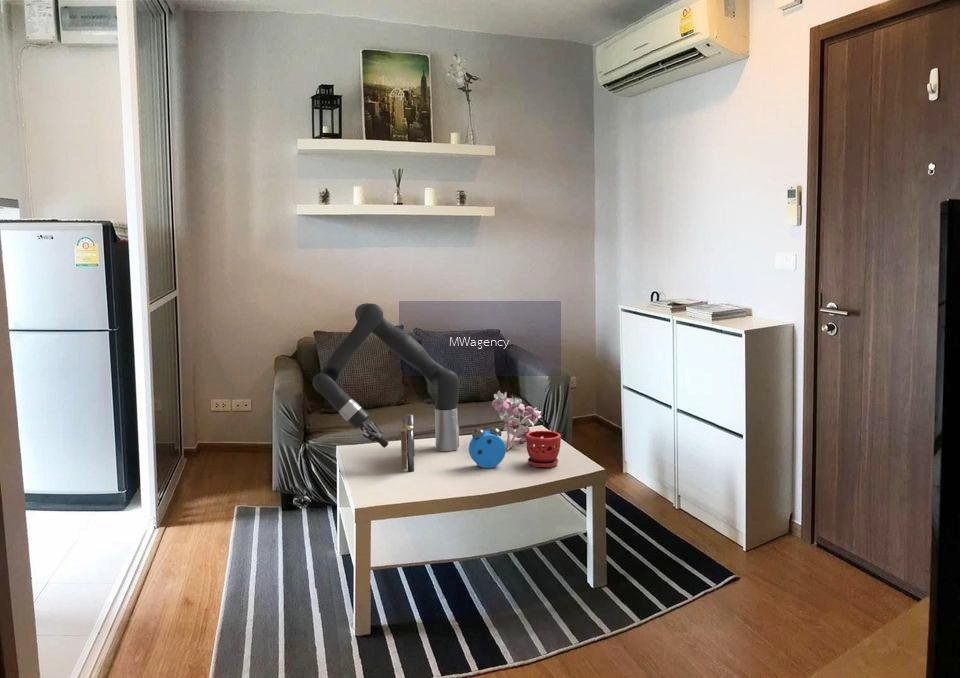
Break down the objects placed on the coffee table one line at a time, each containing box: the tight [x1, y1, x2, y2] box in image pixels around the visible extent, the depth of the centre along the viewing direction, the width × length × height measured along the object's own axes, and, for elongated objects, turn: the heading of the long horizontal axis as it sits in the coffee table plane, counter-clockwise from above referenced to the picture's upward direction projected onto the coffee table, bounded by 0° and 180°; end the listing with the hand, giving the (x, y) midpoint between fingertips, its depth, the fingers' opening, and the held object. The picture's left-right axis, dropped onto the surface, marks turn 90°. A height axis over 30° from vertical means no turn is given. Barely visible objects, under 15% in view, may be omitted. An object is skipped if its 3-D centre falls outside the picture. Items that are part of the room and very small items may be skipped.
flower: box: [491, 390, 542, 451], centre depth 297 cm, size 20×22×25 cm
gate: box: [400, 418, 408, 471], centre depth 274 cm, size 19×2×15 cm, turn 4°
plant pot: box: [525, 430, 562, 468], centre depth 271 cm, size 13×13×12 cm
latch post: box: [406, 425, 415, 473], centre depth 266 cm, size 3×3×17 cm
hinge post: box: [406, 413, 416, 456], centre depth 284 cm, size 3×3×17 cm
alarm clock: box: [468, 427, 507, 469], centre depth 269 cm, size 13×6×15 cm, turn 107°
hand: (386, 445), depth 268 cm, fingers closed
